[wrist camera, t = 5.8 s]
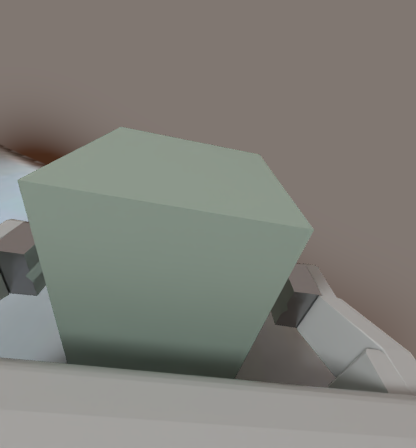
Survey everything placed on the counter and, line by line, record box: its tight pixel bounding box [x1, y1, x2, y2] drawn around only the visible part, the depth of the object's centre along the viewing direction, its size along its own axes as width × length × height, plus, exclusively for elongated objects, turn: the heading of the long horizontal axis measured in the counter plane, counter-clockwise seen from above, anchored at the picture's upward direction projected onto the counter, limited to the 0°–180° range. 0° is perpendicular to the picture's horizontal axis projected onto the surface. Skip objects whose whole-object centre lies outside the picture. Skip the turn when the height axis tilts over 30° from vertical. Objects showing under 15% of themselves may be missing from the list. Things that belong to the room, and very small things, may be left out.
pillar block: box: [18, 127, 314, 379], centre depth 9 cm, size 5×5×10 cm
